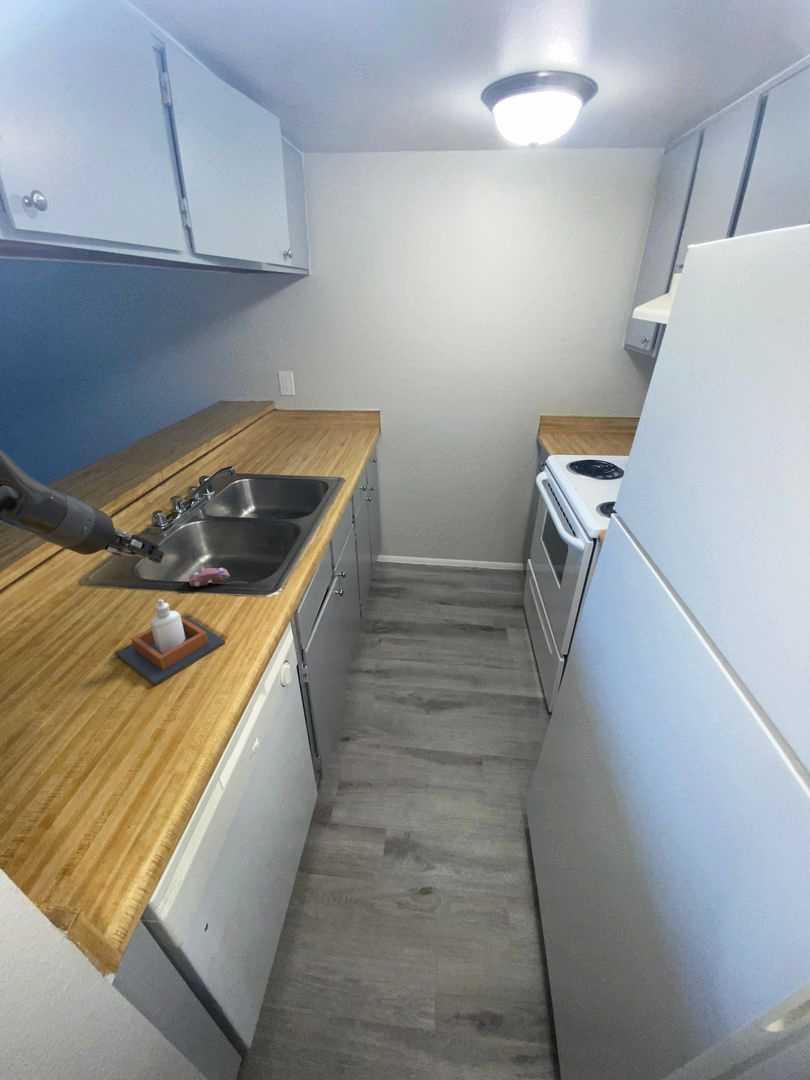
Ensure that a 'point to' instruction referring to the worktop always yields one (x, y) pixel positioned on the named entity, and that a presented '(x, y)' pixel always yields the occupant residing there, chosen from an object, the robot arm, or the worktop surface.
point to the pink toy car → (208, 576)
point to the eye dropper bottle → (167, 628)
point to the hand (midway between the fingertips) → (141, 554)
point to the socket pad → (169, 652)
